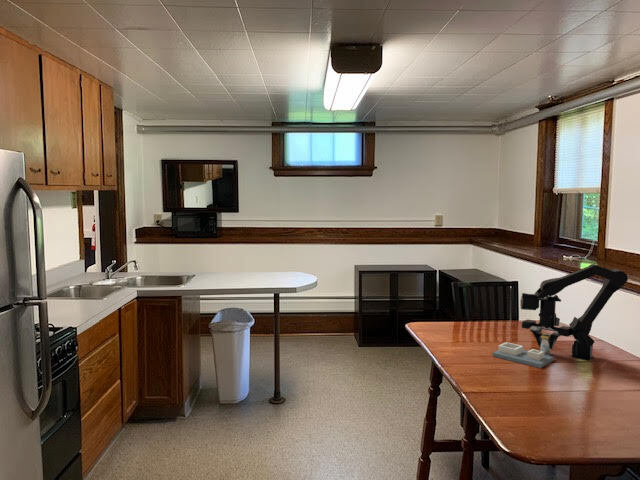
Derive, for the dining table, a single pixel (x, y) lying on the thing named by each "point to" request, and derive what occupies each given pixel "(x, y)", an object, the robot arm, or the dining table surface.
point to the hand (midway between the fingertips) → (545, 347)
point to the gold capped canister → (545, 343)
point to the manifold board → (522, 355)
